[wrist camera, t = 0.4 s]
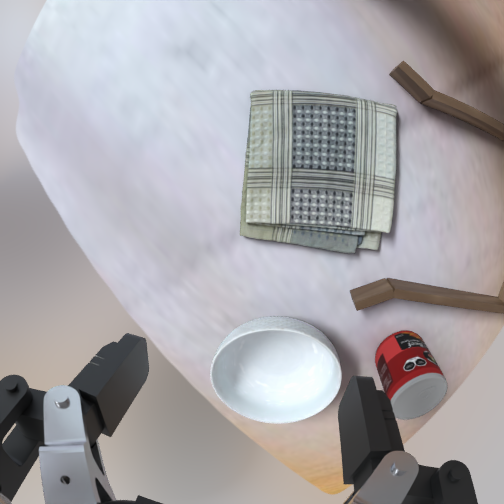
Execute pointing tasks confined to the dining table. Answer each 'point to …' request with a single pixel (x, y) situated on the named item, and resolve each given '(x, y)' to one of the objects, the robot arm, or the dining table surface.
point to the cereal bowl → (276, 370)
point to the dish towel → (319, 170)
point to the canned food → (409, 375)
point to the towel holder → (416, 291)
